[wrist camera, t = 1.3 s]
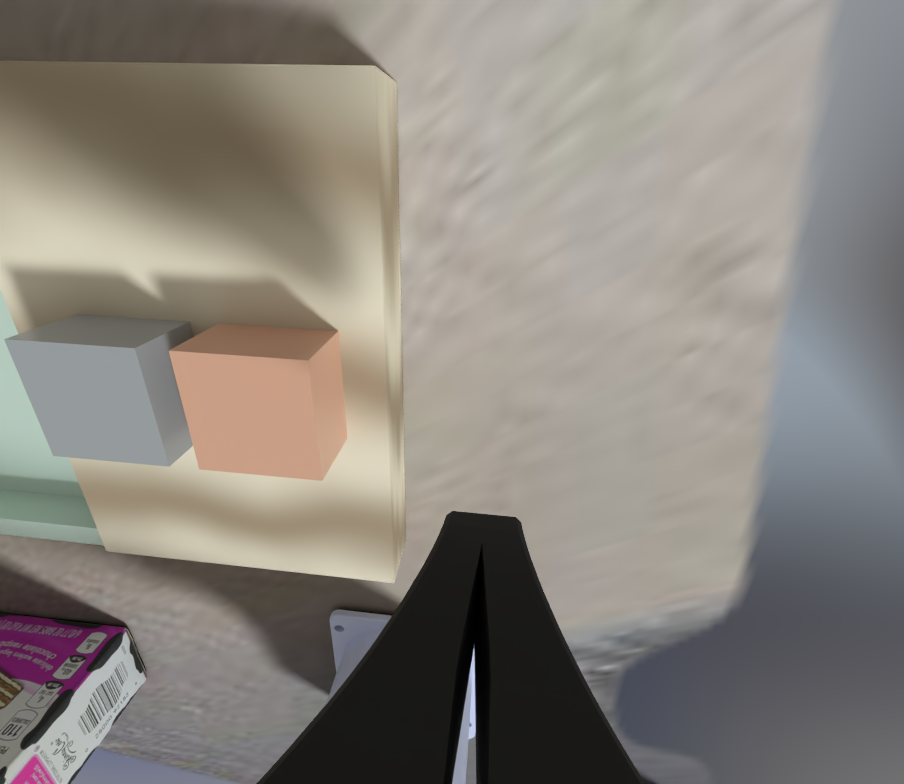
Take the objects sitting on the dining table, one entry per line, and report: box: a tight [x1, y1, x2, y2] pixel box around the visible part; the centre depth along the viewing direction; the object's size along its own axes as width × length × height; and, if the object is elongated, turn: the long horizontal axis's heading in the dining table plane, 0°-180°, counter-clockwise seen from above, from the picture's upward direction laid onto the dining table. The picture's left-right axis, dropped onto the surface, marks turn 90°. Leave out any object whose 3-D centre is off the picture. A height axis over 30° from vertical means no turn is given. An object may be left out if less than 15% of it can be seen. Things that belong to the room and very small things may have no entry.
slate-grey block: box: [4, 314, 193, 467], centre depth 15 cm, size 4×4×2 cm
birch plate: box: [0, 60, 406, 583], centre depth 17 cm, size 18×13×2 cm
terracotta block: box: [169, 323, 347, 481], centre depth 15 cm, size 4×4×2 cm
